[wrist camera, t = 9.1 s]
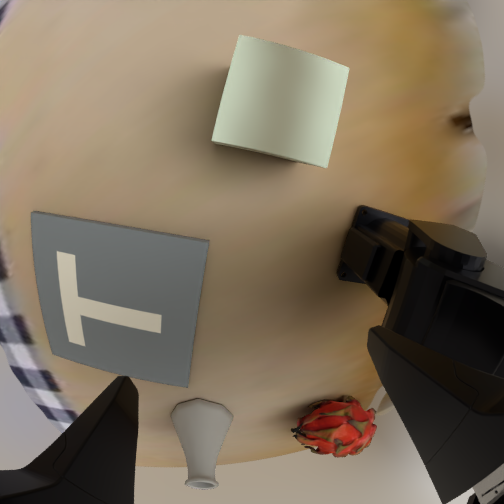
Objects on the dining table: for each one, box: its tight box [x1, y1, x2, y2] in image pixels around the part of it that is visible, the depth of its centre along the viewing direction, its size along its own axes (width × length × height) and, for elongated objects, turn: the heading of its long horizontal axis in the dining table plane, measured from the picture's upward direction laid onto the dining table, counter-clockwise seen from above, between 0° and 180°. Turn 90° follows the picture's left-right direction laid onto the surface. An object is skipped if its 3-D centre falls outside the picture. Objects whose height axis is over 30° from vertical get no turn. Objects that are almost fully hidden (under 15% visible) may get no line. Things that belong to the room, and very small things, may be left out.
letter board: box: [31, 211, 209, 388], centre depth 21 cm, size 16×16×1 cm
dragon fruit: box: [291, 396, 377, 457], centre depth 27 cm, size 8×8×12 cm
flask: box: [171, 399, 234, 490], centre depth 23 cm, size 7×7×10 cm
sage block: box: [212, 35, 349, 168], centre depth 15 cm, size 6×6×6 cm
